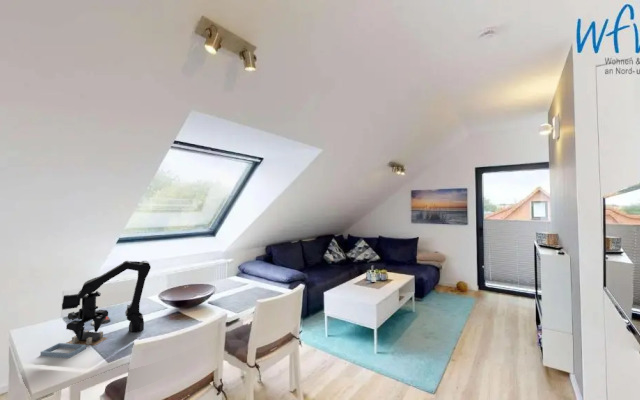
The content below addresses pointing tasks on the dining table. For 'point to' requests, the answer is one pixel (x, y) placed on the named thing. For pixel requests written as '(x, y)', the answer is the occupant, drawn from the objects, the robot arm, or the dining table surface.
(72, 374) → the dining table surface
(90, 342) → the block
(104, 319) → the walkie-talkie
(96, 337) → the tan-capped grey cylinder
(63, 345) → the tray
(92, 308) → the robot arm
